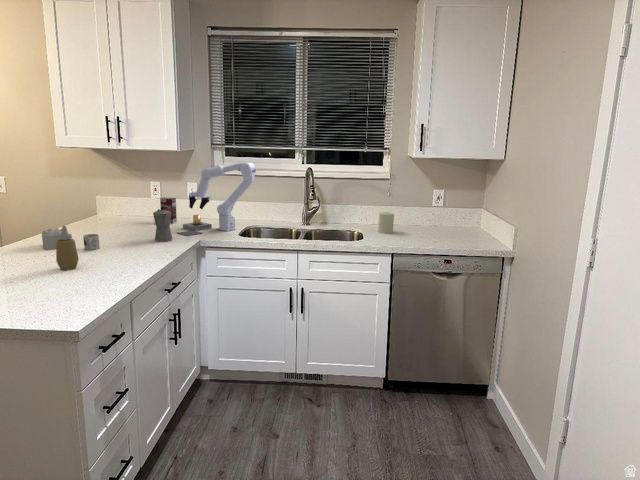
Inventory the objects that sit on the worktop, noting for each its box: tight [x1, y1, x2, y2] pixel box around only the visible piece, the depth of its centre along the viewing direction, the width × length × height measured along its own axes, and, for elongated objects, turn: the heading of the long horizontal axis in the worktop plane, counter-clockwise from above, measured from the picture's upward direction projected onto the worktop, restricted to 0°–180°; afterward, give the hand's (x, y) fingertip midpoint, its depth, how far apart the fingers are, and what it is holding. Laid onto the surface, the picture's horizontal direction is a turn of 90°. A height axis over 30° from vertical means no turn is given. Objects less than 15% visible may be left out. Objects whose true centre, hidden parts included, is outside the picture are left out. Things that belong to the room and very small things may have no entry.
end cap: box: [192, 214, 202, 225], centre depth 270 cm, size 4×4×8 cm
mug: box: [82, 233, 101, 251], centre depth 216 cm, size 10×7×7 cm, turn 21°
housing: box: [182, 221, 213, 232], centre depth 270 cm, size 12×12×2 cm
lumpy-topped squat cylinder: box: [41, 227, 62, 251], centre depth 219 cm, size 10×13×9 cm
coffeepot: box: [152, 206, 173, 243], centre depth 238 cm, size 15×9×18 cm, turn 33°
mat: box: [176, 230, 203, 237], centre depth 256 cm, size 10×10×1 cm
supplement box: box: [159, 196, 178, 225], centre depth 283 cm, size 9×5×16 cm, turn 73°
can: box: [377, 211, 395, 235], centre depth 273 cm, size 9×9×12 cm
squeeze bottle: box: [55, 225, 80, 271], centre depth 184 cm, size 8×8×18 cm
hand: (195, 208), depth 271 cm, fingers open, 7 cm apart
